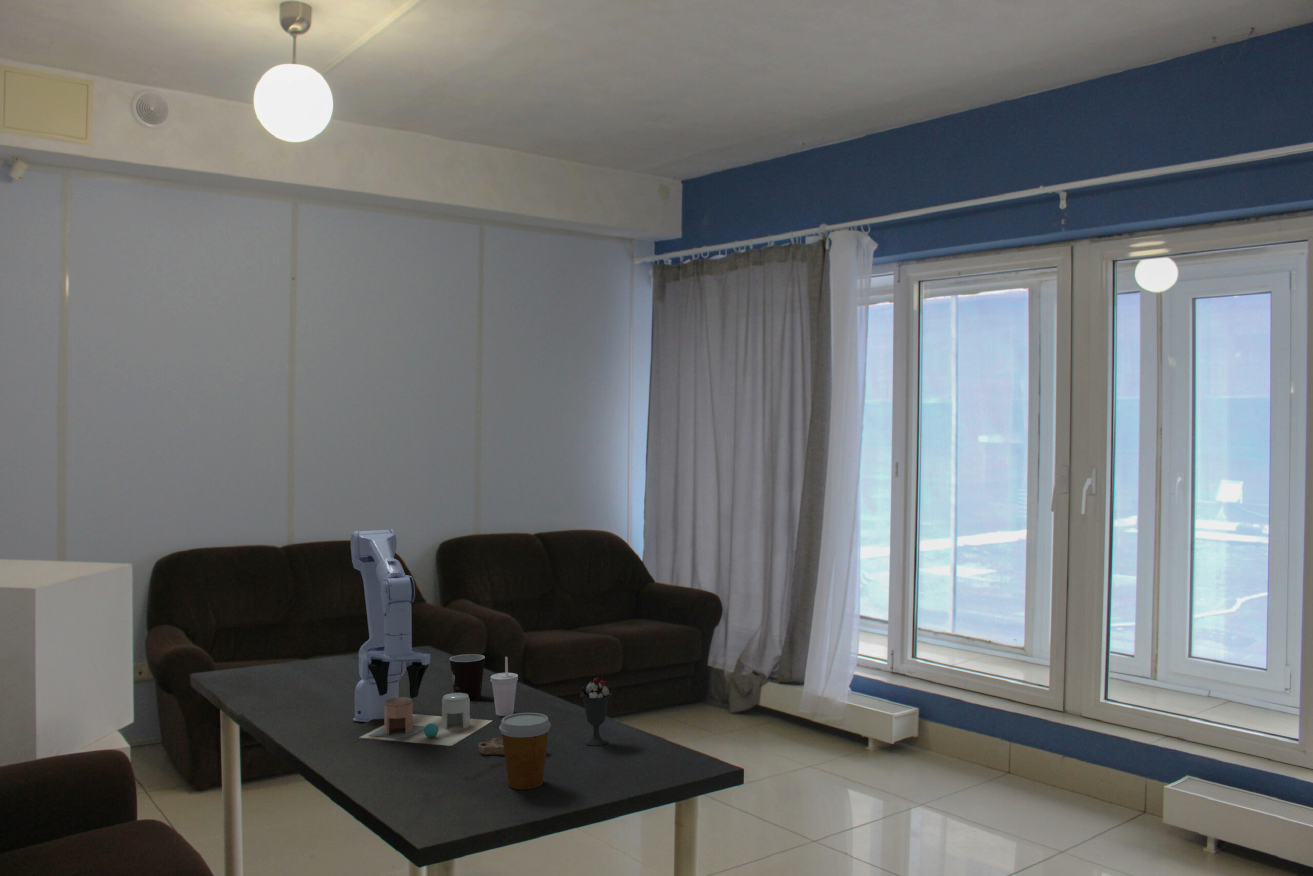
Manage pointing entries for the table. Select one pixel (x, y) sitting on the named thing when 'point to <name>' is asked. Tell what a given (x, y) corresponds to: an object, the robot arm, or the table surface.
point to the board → (443, 736)
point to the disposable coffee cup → (525, 748)
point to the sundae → (596, 708)
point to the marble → (431, 730)
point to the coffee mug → (467, 674)
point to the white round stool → (456, 709)
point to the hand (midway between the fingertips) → (398, 695)
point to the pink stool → (398, 714)
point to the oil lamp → (492, 747)
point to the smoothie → (504, 691)
